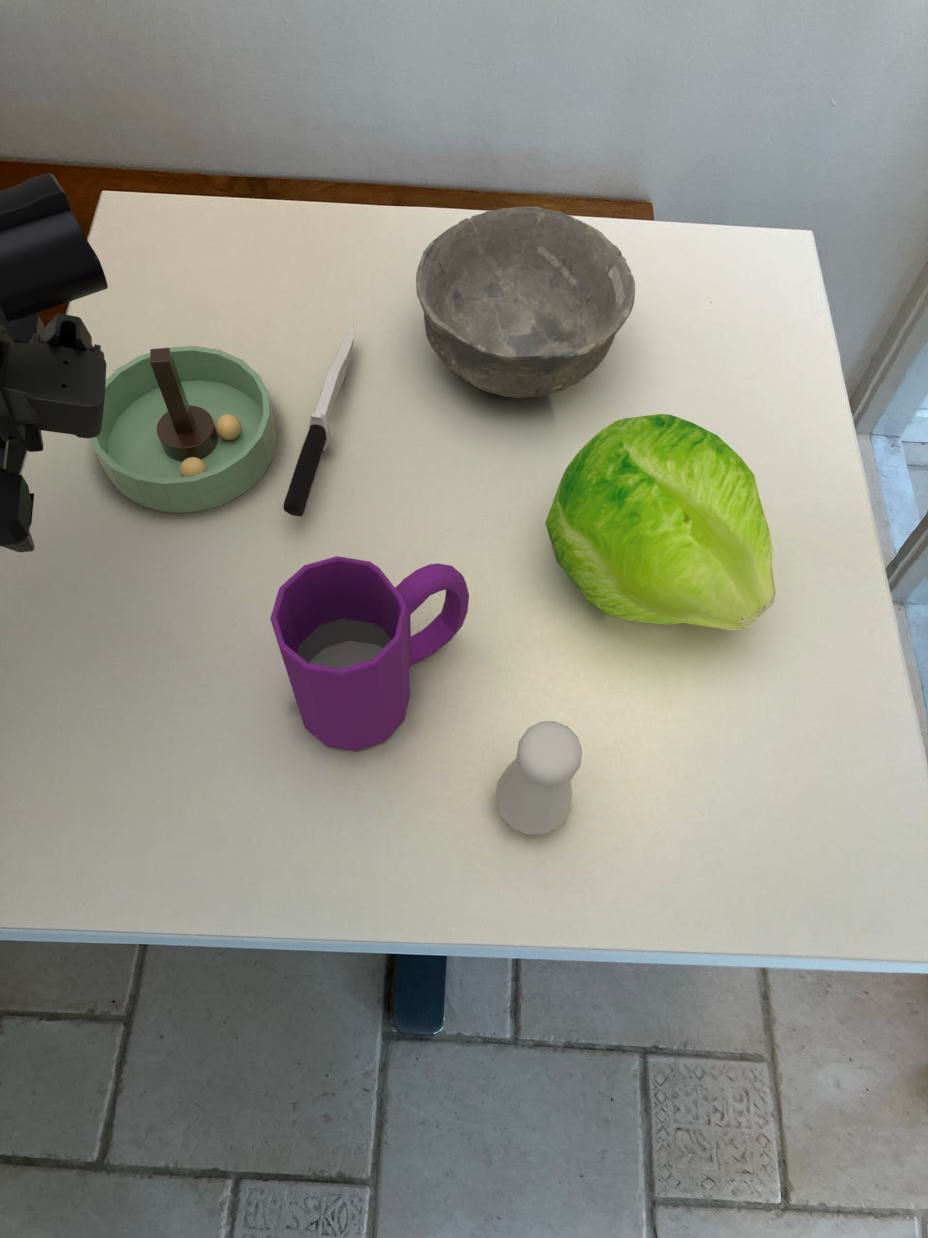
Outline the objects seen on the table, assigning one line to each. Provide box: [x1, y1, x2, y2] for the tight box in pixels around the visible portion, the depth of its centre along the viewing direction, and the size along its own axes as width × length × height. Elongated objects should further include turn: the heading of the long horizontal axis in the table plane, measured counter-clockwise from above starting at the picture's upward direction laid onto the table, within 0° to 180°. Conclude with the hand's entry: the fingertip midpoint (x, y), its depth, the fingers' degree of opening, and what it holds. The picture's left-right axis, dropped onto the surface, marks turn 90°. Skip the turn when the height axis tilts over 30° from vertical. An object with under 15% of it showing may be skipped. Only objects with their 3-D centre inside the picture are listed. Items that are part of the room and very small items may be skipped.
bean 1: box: [180, 457, 207, 477], centre depth 81 cm, size 2×2×2 cm
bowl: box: [415, 206, 636, 399], centre depth 87 cm, size 21×21×10 cm
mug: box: [270, 555, 470, 752], centre depth 67 cm, size 9×16×15 cm, turn 126°
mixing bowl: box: [89, 345, 277, 514], centre depth 82 cm, size 16×16×4 cm
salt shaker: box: [494, 720, 583, 836], centre depth 63 cm, size 6×6×13 cm
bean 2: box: [215, 414, 242, 440], centre depth 83 cm, size 2×2×2 cm
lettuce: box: [544, 413, 776, 631], centre depth 73 cm, size 17×20×15 cm
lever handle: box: [149, 347, 218, 462], centre depth 79 cm, size 5×5×11 cm
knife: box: [282, 322, 355, 517], centre depth 84 cm, size 25×2×5 cm, turn 171°
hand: (32, 498), depth 65 cm, fingers open, 9 cm apart
